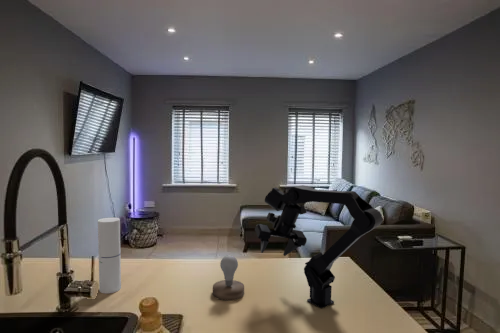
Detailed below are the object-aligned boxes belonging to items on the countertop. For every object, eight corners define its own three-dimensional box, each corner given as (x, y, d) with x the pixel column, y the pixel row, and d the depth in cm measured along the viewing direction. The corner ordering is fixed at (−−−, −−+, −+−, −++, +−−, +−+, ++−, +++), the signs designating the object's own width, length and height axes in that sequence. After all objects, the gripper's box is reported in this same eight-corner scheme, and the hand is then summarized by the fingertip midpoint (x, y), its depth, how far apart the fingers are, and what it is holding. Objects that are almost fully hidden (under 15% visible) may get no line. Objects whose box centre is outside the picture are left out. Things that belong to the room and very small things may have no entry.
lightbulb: (235, 281, 126) (235, 252, 125) (239, 289, 120) (240, 257, 119) (218, 283, 124) (218, 253, 123) (222, 291, 118) (222, 259, 117)
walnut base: (250, 294, 122) (250, 287, 121) (224, 303, 115) (224, 296, 115) (231, 283, 130) (232, 277, 130) (206, 291, 123) (206, 284, 123)
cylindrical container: (113, 294, 120) (112, 222, 118) (95, 292, 122) (93, 221, 120) (124, 285, 127) (123, 218, 125) (107, 283, 129) (105, 216, 127)
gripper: (302, 210, 133) (288, 243, 139) (258, 201, 127) (244, 237, 132) (314, 227, 124) (298, 262, 129) (266, 218, 117) (251, 256, 122)
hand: (272, 253), depth 128 cm, fingers open, 9 cm apart
